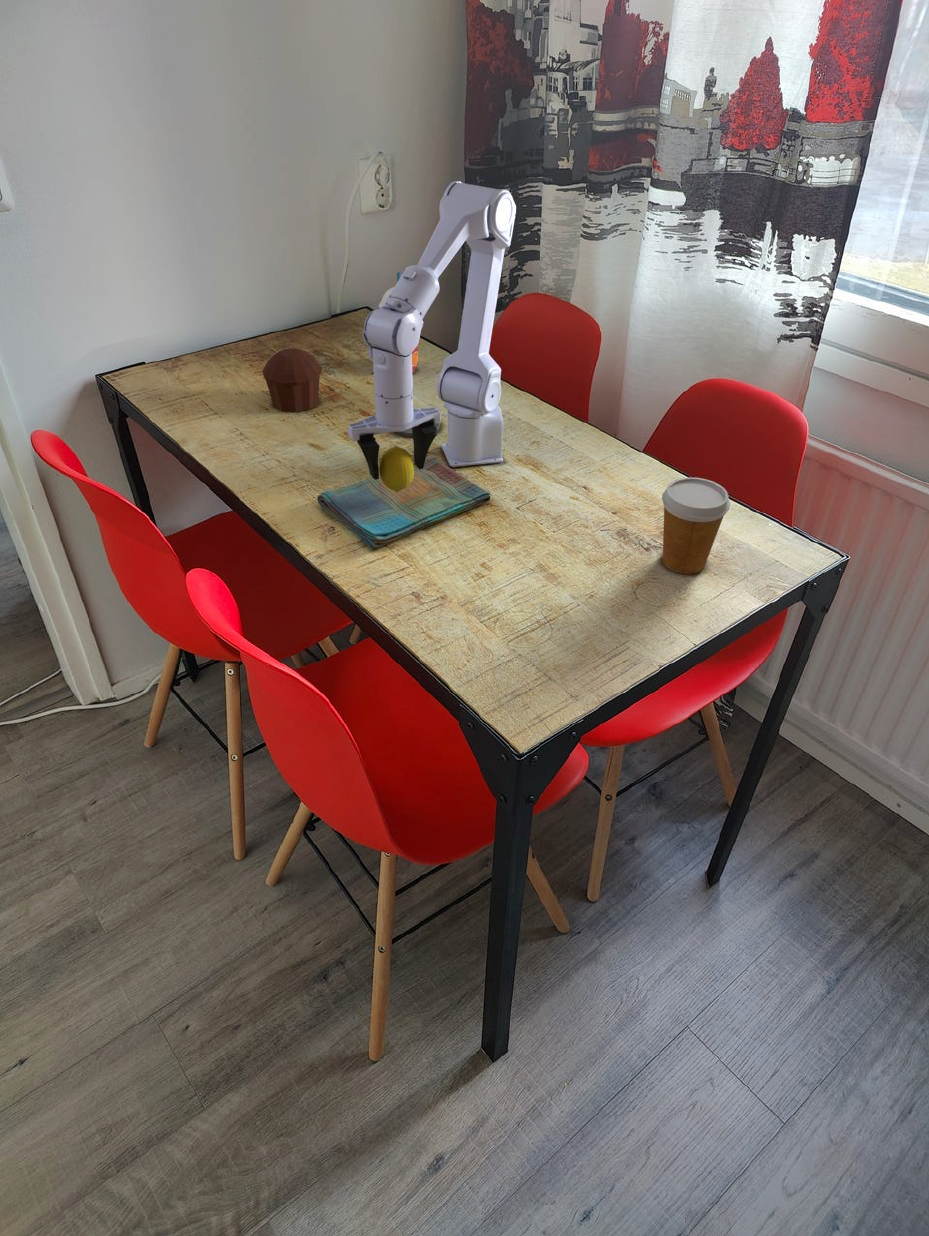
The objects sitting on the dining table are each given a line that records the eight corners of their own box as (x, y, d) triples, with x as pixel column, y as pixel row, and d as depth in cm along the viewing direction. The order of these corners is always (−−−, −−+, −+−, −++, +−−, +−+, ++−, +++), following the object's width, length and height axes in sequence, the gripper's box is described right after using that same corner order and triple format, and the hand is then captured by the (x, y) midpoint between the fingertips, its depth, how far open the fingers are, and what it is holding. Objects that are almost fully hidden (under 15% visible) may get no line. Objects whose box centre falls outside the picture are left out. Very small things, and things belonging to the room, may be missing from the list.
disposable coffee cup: (671, 537, 140) (683, 469, 132) (727, 560, 135) (743, 490, 128) (639, 564, 134) (650, 494, 127) (696, 588, 129) (712, 517, 122)
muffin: (314, 417, 171) (309, 367, 164) (258, 412, 172) (251, 362, 166) (331, 391, 180) (327, 342, 174) (278, 387, 181) (272, 338, 175)
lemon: (414, 500, 143) (413, 455, 138) (379, 500, 143) (377, 455, 138) (415, 482, 147) (413, 438, 142) (381, 482, 147) (378, 438, 142)
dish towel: (314, 505, 146) (313, 491, 145) (430, 462, 158) (430, 449, 156) (374, 552, 136) (373, 538, 134) (492, 503, 147) (493, 489, 146)
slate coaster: (434, 413, 173) (434, 409, 172) (444, 434, 166) (444, 431, 165) (387, 417, 171) (387, 414, 171) (395, 439, 164) (395, 435, 164)
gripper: (427, 372, 139) (428, 451, 148) (338, 389, 134) (345, 469, 143) (446, 390, 135) (446, 470, 143) (355, 408, 129) (361, 490, 138)
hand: (396, 471), depth 143 cm, fingers open, 7 cm apart
